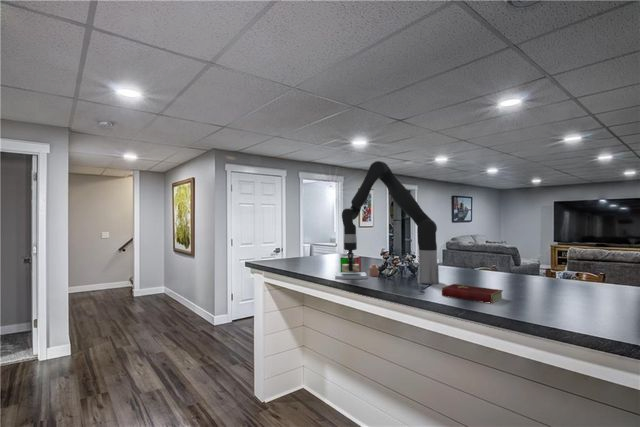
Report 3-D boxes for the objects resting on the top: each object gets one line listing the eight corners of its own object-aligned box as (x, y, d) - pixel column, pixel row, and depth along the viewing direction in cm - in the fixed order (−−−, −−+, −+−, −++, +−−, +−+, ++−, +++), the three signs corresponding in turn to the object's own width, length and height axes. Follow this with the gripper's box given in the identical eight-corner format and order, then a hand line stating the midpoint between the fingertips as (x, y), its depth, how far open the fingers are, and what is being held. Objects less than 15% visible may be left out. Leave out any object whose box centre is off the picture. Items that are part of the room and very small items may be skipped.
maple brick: (359, 270, 203) (358, 264, 203) (359, 272, 198) (359, 265, 198) (342, 270, 204) (342, 264, 204) (342, 272, 199) (342, 265, 199)
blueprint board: (365, 274, 207) (365, 272, 207) (366, 278, 193) (366, 276, 193) (336, 274, 208) (336, 272, 209) (335, 278, 195) (335, 276, 195)
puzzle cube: (361, 271, 219) (361, 256, 219) (354, 274, 211) (354, 258, 211) (347, 270, 225) (347, 255, 225) (340, 273, 216) (340, 257, 216)
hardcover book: (492, 304, 133) (492, 294, 133) (441, 296, 148) (441, 287, 148) (503, 299, 141) (502, 289, 141) (454, 292, 156) (454, 283, 156)
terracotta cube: (377, 274, 208) (377, 264, 208) (378, 275, 203) (378, 265, 203) (369, 274, 208) (369, 264, 208) (370, 275, 203) (369, 265, 203)
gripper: (356, 242, 194) (357, 272, 193) (356, 240, 208) (356, 268, 208) (343, 242, 194) (344, 272, 194) (344, 241, 209) (344, 268, 208)
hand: (350, 270), depth 201 cm, fingers closed on maple brick, 5 cm apart
